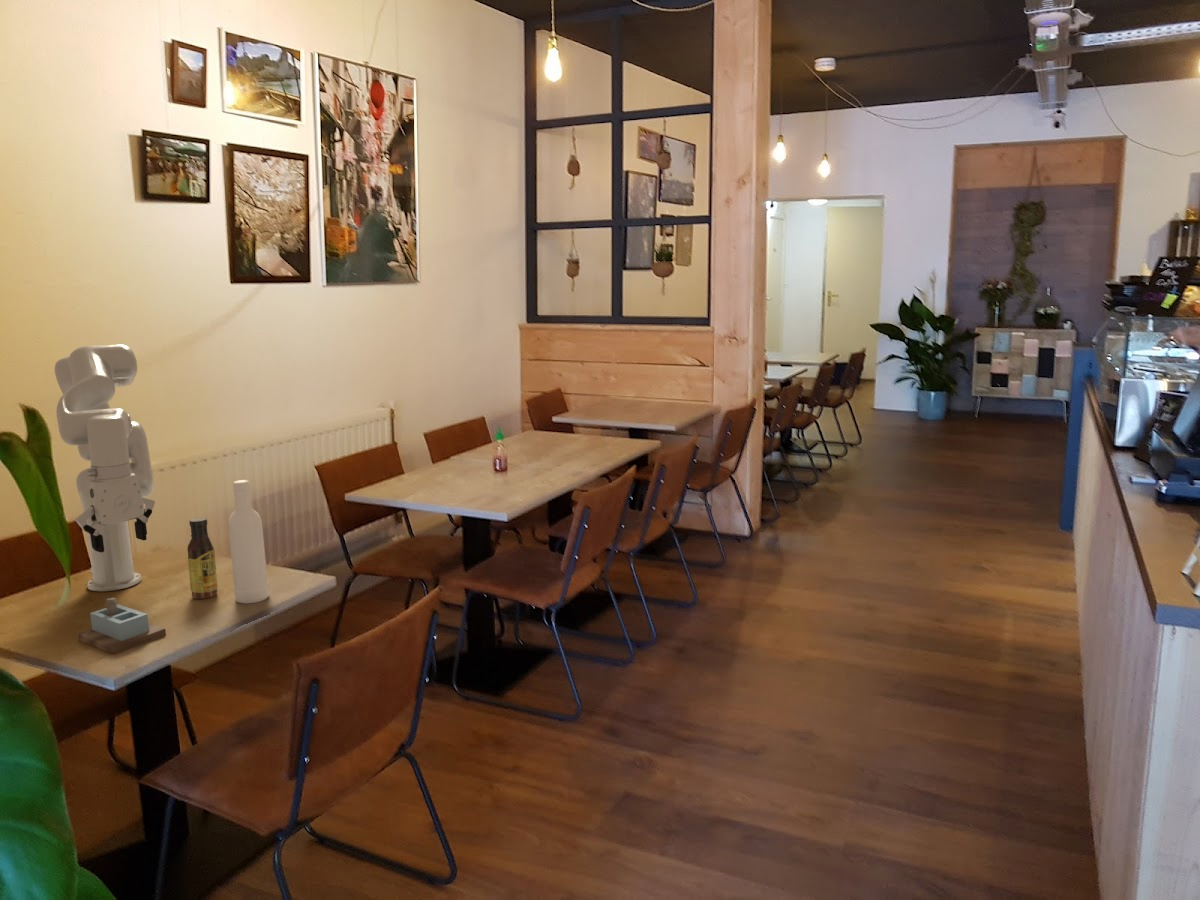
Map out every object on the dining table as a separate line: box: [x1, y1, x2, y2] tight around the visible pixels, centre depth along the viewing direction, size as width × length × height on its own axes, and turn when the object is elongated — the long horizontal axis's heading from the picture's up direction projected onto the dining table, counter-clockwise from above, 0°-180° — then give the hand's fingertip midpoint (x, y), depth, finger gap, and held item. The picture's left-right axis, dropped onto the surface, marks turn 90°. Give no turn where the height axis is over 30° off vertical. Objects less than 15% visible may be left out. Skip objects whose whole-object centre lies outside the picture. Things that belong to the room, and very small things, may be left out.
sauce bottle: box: [187, 517, 219, 600], centre depth 229 cm, size 6×6×20 cm
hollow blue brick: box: [89, 603, 150, 641], centre depth 205 cm, size 12×6×4 cm, turn 57°
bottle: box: [227, 479, 270, 605], centre depth 226 cm, size 8×8×30 cm
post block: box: [78, 597, 167, 655], centre depth 205 cm, size 14×12×8 cm
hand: (120, 545), depth 205 cm, fingers open, 9 cm apart
